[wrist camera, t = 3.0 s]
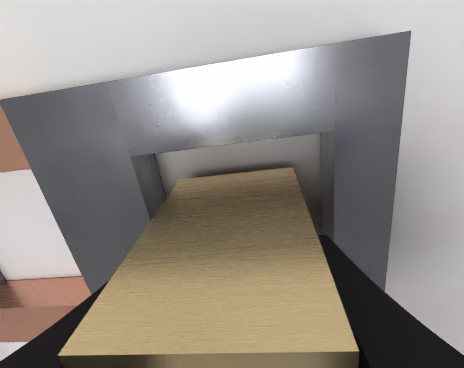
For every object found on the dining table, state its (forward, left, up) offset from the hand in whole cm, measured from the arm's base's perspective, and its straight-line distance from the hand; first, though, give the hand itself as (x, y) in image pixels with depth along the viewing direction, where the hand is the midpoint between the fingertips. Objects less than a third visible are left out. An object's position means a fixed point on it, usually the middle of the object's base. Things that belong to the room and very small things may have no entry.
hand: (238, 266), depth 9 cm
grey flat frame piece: (0, +6, -4) cm, 7 cm away
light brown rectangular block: (0, 0, -3) cm, 3 cm away
